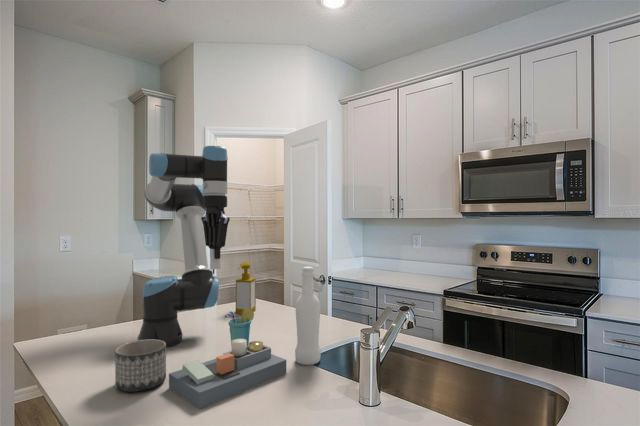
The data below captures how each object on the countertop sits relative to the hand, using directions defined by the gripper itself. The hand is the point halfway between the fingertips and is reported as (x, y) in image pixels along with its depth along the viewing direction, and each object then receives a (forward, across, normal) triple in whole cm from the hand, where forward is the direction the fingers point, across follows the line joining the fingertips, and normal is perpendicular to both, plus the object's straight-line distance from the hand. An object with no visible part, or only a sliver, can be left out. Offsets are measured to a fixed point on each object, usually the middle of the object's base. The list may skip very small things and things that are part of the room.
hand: (215, 268), depth 123 cm
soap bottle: (+30, -40, +40) cm, 64 cm away
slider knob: (+25, +19, -9) cm, 32 cm away
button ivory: (+22, +16, -2) cm, 28 cm away
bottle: (+30, +22, +20) cm, 42 cm away
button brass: (+25, +16, +4) cm, 30 cm away
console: (+29, +16, -5) cm, 34 cm away
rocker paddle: (+24, +16, -15) cm, 32 cm away
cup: (+30, 0, +9) cm, 31 cm away
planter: (+30, 0, -23) cm, 38 cm away
